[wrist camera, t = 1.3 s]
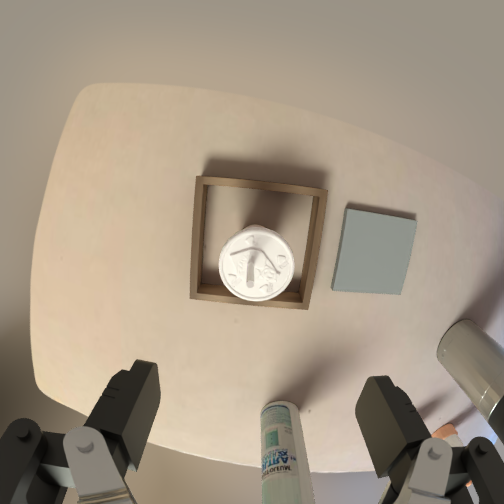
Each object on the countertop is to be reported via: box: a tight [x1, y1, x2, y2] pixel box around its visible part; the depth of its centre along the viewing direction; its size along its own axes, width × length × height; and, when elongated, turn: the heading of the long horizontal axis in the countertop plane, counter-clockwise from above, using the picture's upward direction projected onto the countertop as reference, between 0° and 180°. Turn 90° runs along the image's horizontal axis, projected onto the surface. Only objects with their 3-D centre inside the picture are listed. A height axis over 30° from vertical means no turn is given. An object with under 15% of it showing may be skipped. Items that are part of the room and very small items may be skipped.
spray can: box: [261, 401, 315, 504], centre depth 31 cm, size 6×6×20 cm
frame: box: [190, 176, 328, 310], centre depth 31 cm, size 14×14×3 cm
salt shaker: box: [431, 424, 472, 486], centre depth 36 cm, size 7×7×19 cm
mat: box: [331, 208, 417, 295], centre depth 32 cm, size 10×10×1 cm
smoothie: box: [219, 224, 294, 301], centre depth 26 cm, size 6×6×14 cm
